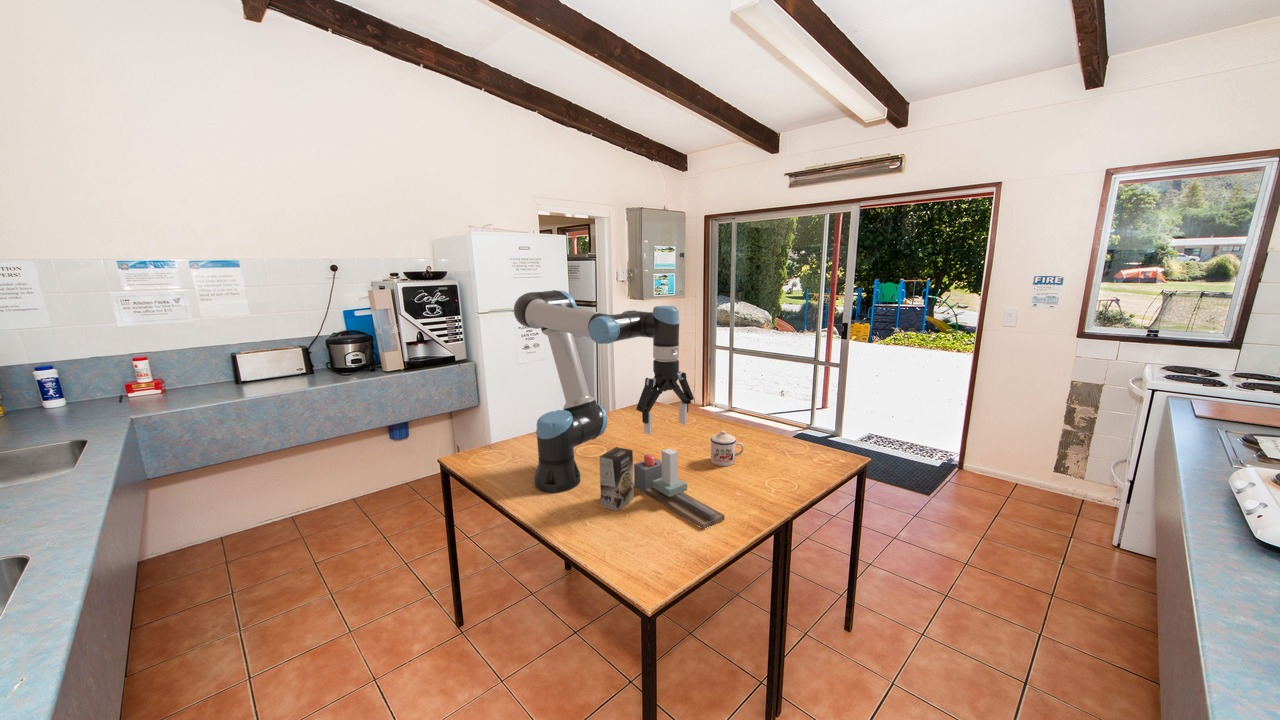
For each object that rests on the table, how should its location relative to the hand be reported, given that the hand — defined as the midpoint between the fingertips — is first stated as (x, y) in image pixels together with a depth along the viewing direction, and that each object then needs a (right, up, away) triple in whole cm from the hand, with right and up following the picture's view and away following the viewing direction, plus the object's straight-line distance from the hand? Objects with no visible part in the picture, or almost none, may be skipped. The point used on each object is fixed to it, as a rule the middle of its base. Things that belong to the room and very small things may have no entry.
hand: (666, 428), depth 141 cm
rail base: (+5, -23, -1) cm, 24 cm away
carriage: (+1, -19, +3) cm, 19 cm away
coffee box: (-15, -23, +2) cm, 27 cm away
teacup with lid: (+24, -17, +30) cm, 41 cm away
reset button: (-5, -15, +10) cm, 19 cm away
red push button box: (-5, -21, +11) cm, 24 cm away
